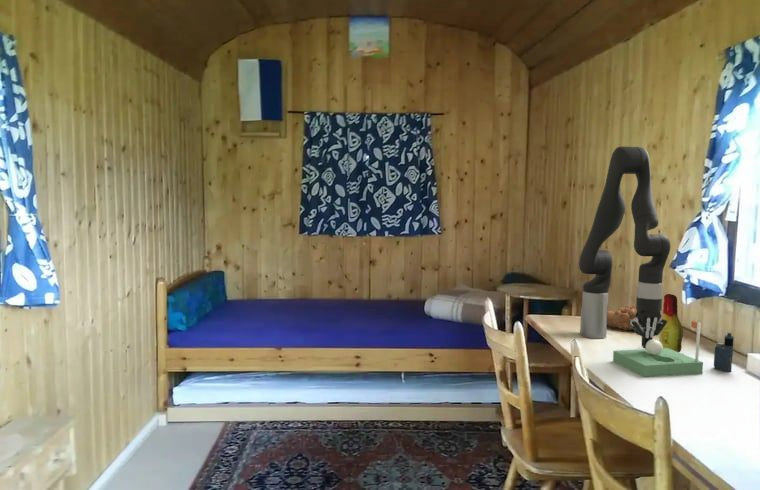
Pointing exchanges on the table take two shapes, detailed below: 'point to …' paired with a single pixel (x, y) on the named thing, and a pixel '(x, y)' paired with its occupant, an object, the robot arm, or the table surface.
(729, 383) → the table surface
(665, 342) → the bottle
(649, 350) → the ball
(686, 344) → the table surface
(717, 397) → the table surface
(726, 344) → the vaping device
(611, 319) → the bag of nuts
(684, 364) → the green
